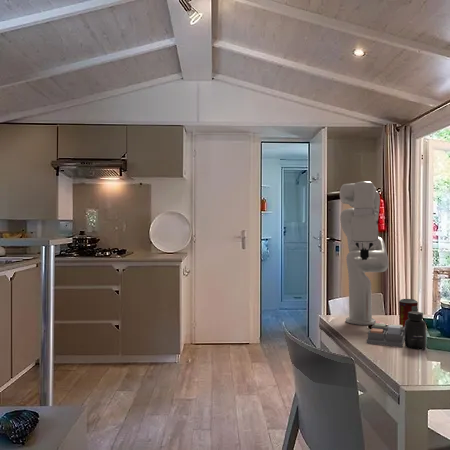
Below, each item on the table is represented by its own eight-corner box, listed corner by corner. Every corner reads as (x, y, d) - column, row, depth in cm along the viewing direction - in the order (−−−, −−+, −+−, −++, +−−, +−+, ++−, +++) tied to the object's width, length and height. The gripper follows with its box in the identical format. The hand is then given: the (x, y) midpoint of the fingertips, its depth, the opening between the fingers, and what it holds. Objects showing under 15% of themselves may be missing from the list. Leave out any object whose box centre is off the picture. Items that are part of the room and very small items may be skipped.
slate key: (389, 331, 161) (389, 324, 161) (400, 332, 159) (400, 325, 159) (388, 334, 157) (387, 327, 157) (399, 335, 156) (399, 328, 156)
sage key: (375, 329, 173) (375, 322, 173) (386, 330, 171) (386, 323, 171) (374, 331, 169) (374, 325, 169) (385, 332, 167) (385, 325, 167)
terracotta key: (372, 334, 164) (372, 328, 164) (383, 335, 162) (383, 329, 162) (370, 337, 160) (370, 330, 160) (382, 338, 158) (382, 331, 158)
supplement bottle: (417, 350, 148) (416, 315, 148) (400, 345, 154) (400, 311, 154) (430, 347, 151) (430, 313, 151) (413, 343, 157) (413, 309, 157)
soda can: (421, 330, 177) (421, 299, 177) (412, 332, 172) (412, 301, 173) (405, 327, 182) (404, 297, 182) (396, 329, 178) (395, 299, 178)
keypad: (373, 331, 176) (373, 322, 176) (406, 334, 170) (406, 325, 170) (366, 343, 158) (366, 333, 158) (402, 346, 152) (402, 337, 152)
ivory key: (391, 330, 170) (391, 324, 170) (402, 331, 168) (402, 325, 168) (390, 332, 166) (390, 326, 166) (402, 333, 165) (401, 327, 165)
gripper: (385, 213, 173) (385, 259, 173) (346, 213, 179) (347, 258, 179) (382, 212, 166) (383, 260, 166) (342, 213, 172) (343, 259, 172)
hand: (364, 259), depth 172 cm, fingers closed
